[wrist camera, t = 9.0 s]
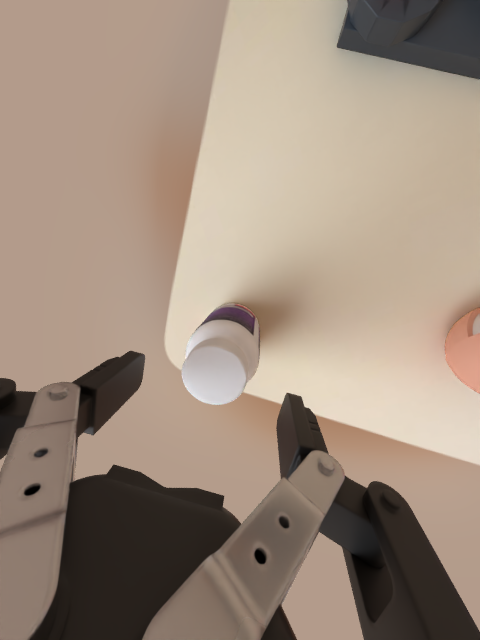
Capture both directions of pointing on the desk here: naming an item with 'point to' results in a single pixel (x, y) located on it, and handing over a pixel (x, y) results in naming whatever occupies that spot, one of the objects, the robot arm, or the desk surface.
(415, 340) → the desk surface
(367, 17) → the scale
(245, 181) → the desk surface
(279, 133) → the desk surface
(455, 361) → the toy ball
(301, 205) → the desk surface
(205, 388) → the pill bottle
